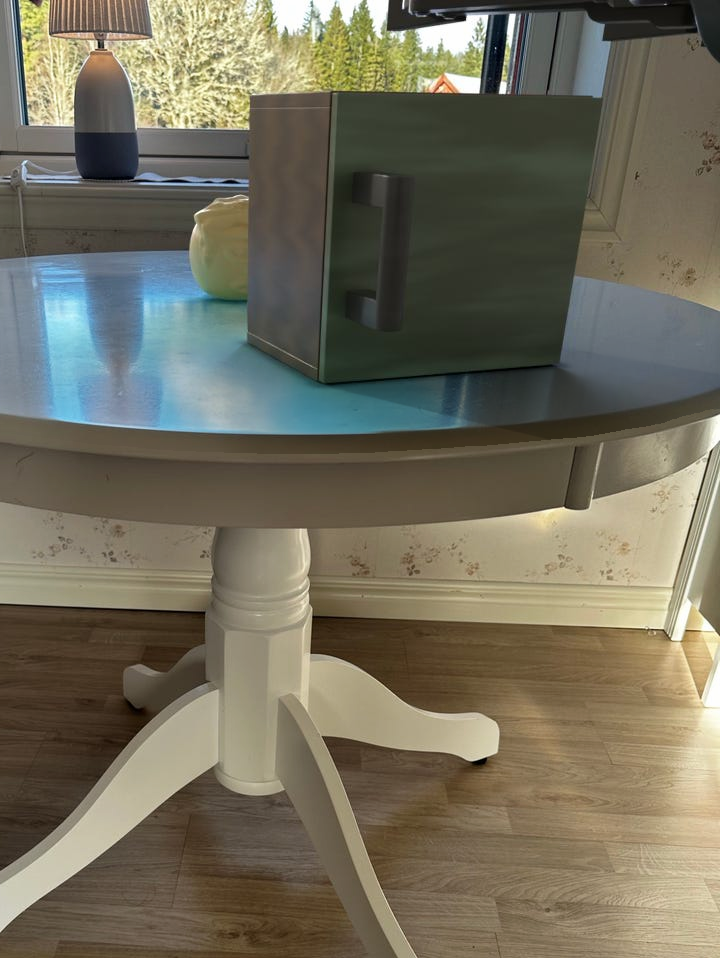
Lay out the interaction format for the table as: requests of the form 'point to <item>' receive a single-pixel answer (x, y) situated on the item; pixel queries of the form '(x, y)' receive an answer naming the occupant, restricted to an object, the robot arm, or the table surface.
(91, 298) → the table surface
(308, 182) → the cupboard
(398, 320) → the cupboard door
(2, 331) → the table surface
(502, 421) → the table surface
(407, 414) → the table surface
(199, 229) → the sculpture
